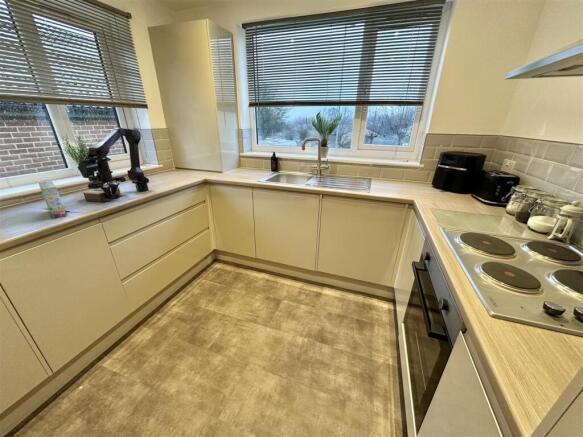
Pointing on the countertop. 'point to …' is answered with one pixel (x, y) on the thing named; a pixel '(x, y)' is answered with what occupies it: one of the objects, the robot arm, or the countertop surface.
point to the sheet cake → (110, 190)
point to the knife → (113, 195)
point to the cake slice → (94, 195)
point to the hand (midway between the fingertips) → (112, 196)
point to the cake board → (99, 201)
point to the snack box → (52, 199)
